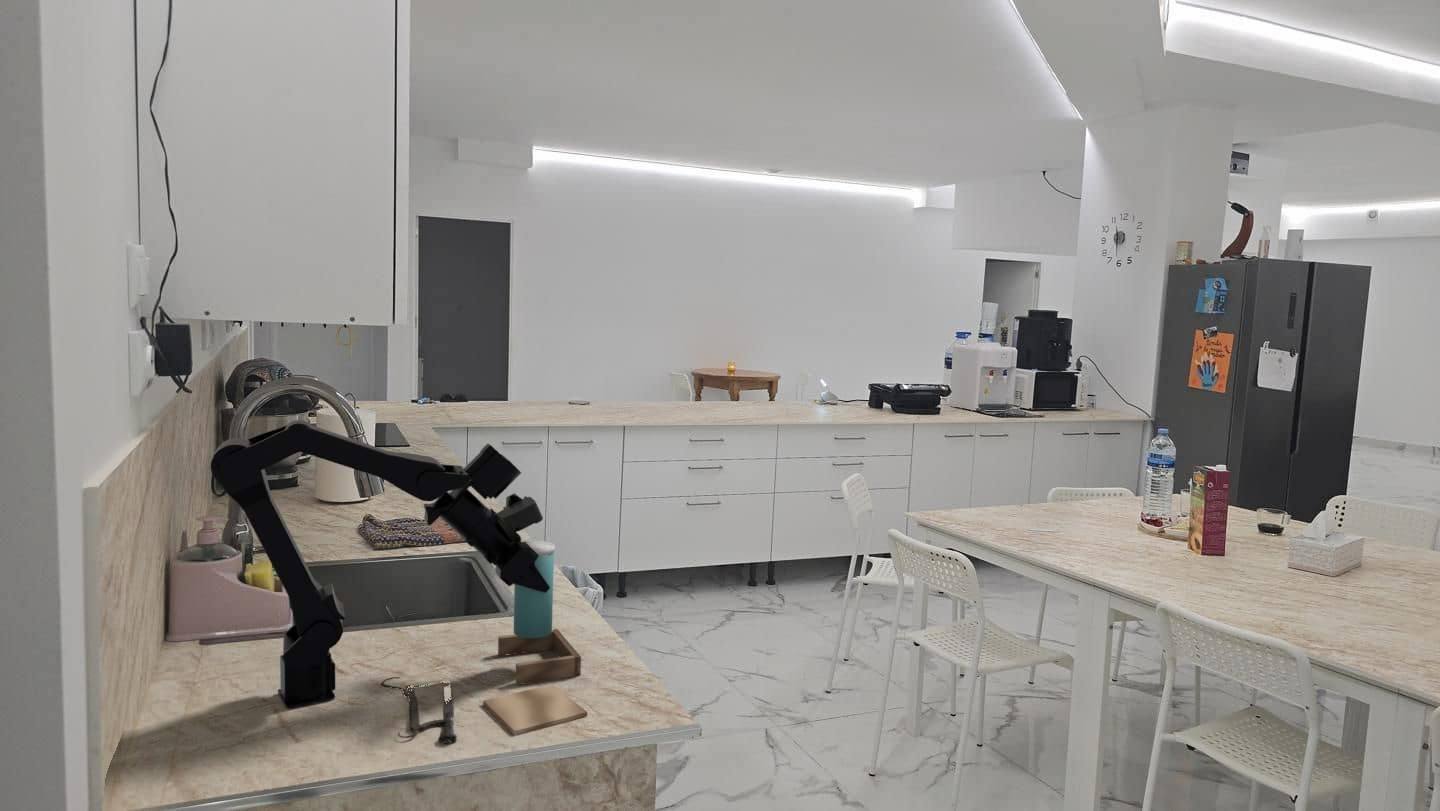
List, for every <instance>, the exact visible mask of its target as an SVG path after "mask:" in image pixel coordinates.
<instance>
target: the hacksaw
mask: <svg viewBox="0 0 1440 811" xmlns="http://www.w3.org/2000/svg"><path fill="white" fill-rule="evenodd" d="M393 678H395V679H399V678H401V677H400V676H395V677H390V678H389V677H388V678H385V679H384V680H382V681H381V683H380V684H381V687H383V686H384V687H383V688H387V687H392V688H391V689H394V688H399V689H403V691H404V693H403V695H405V696H406V695H407V697H408V696H409V699H410V701H409V699H408V701H409V702H408V704H409V705H410V706H409V707H408V709H409V708H410V709H409V710H408V712H409V711H410V712H409V716H408V717H409V726H408V727H409V730H410V731H412V732H413V733H412V734H410V735H407V736H406V735H405V736H404V735H400V733H401V732H402V731H403V730H404V729H405V728H404V727H403V728H402V729H401V730H399V731H398V733H397V736H398V737H400V738H403V739H405V738H406V739H408V738H410V739H411V738H414V737H416V736H417V735H418V734H419V733H420V731H425V730H426V729H428V728H430V727H434V726H444V727H443V733H441V734H440V736H439V737H438V739H437V740H438V741H439V743H440V744H441V745H449V744H448V743H451V744H454V743H455V744H456V742H457V734H455V730H454V719H453V718H455V713H454V701H453V699H451V700H449V699H448V700H449V702H448V701H446V702H447V704H446V702H445V703H444V701H445V700H444V699H443V706H444V719H433V720H429V721H426V722H424V723H420V716H419V706H418V705H419V704H418V701H417V700H418V699H416V698H417V696H416V693H414V692H415V689H414V688H411V687H410V685H407V684H406V685H407V686H406V687H407V688H408V686H409V687H410V688H408V691H407V690H406V687H405V688H403V687H399V686H393V685H388V684H385V682H387V681H390V680H394V679H393ZM389 679H390V680H389ZM386 680H387V681H386ZM438 683H439V682H438ZM442 683H443V682H442ZM426 684H427V685H428V683H426ZM416 685H417V686H414V687H419V685H420V686H421V685H422V684H416ZM425 686H426V685H425ZM399 689H398V690H399ZM411 689H412V691H411ZM413 689H414V690H413ZM409 690H410V691H409ZM403 691H402V692H403ZM405 691H406V692H405ZM407 692H408V693H409V694H408V693H407ZM450 698H451V697H450Z"/></svg>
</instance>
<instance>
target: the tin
mask: <svg viewBox="0 0 1440 811" xmlns="http://www.w3.org/2000/svg"><path fill="white" fill-rule="evenodd" d="M522 542H526V543H527V544H528V545H529V546H530V547H531V548H532V549H533V550H534V551H535V552H536V553H537V554H538V555H539V556H538V558H537V560H536V561H535V566H536V568H537V569H538V571H539V572H540V574H541V575H542V577H543V578H544V579H545V581H546V582H547V584H548V585H549V587H550V589H549V590H548V591H547V592H546V593H544V592H541V591H537V590H534V589H530V588H527V587H523V586H520V585H516V584H514V587H513V588H514V590H513V591H514V594H513V596H514V598H513V599H514V603H513V635H514V634H515V635H517V636H519V637H523V638H540V637H544V636H547V635H549V634H551V632H552V630H553V612H554V611H553V607H554V606H553V602H554V599H553V598H554V566H555V565H554V564H555V562H554V561H555V550H556V548H555V547H556V545H555V544H554V542H550V541H547V540H538V539H537V540H534V539H533V540H523V541H522Z"/></svg>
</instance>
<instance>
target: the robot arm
mask: <svg viewBox="0 0 1440 811" xmlns="http://www.w3.org/2000/svg"><path fill="white" fill-rule="evenodd" d="M298 453H304V454H307V455H310V456H312V457H315V458H319V459H323V460H325V461H328V462H331V463H335V464H337V465H341V466H344V467H346V468H349V469H352V470H356V471H359V472H362V473H365V474H369V475H372V476H375V477H377V478H380V479H382V480H384V481H386V482H388V483H390V484H391V485H393V486H394V487H396V488H397V489H399V490H401V491H403V492H404V493H406V494H409V495H410V496H412V497H415V498H416V499H417V500H420V501H423V502H432V503H424V504H423V507H424V515H423V516H424V517H423V518H424V521H425V522H426V524H427V525H428V526H431V525H433V524H434V523H435V522H436V521H437V520H438V519H439V518H440V519H442V520H443V521H444V523H446V524H447V525H448V526H450V528H451V529H453V530H454V531H455V532H456V533H457V534H458V535H459V536H460V537H461V538H463V540H464V541H465V542H466V543H467V545H469V546H470V547H471V548H472V547H473V548H474V549H475V550H476V551H477V552H478V553H479V554H480V555H482V556H483V558H484V559H485V560H486V561H487V563H489V564H490V565H493V566H495V569H494V570H495V574H496V575H497V577H498V578H499V579H500V580H501V581H502V582H503V583H504V584H505V585H507V586H508V587H511V586H512V585H515V584H516V585H520V586H523V587H527V588H530V589H534V590H537V591H541V592H544V593H546V592H547V591H548V590H549V589H550V587H549V585H548V584H547V582H546V581H545V579H544V578H543V577H542V575H541V574H540V572H539V571H538V569H537V568H536V566H535V561H536V560H537V558H538V556H539V555H538V554H537V553H536V552H535V551H534V550H533V549H532V548H531V547H530V546H529V545H528V544H527V543H526V542H523V541H522V537H521V535H520V534H519V533H518V532H520V531H522V530H524V529H527V528H528V527H530V526H532V525H534V524H539V523H540V522H541V521H543V519H544V517H543V515H542V512H541V510H540V508H539V506H538V504H537V502H536V500H535V499H533V497H531V496H527V495H526V496H524V497H523V498H522V497H520V496H519V495H517V494H516V493H512V494H510V495H508V496H506V500H505V501H506V502H505V506H504V507H502V510H500V511H498V512H496V511H495V510H494V509H493V508H489V507H487V506H486V505H485V504H484V503H483V502H482V501H481V500H480V499H479V498H478V497H476V496H475V495H474V494H473V493H472V492H471V491H470V490H469V488H470V487H471V488H472V489H473V490H474V491H475V492H476V493H478V494H479V496H481V497H482V499H484V500H487V498H489V499H490V500H492V499H494V500H496V499H497V498H498V497H499V496H500V495H501V494H502V493H503V492H504V491H505V490H506V489H508V487H509V486H510V485H511V484H512V483H513V482H514V481H516V479H517V478H518V477H519V476H520V475H521V474H522V472H521V471H520V470H519V469H518V468H517V466H516V465H515V464H513V462H512V461H510V460H509V459H508V458H507V457H506V456H504V455H503V454H501V453H500V452H499V451H498V450H497V449H496V448H494V447H493V445H492V444H490V443H486V444H485V445H484V446H483V447H482V449H481V450H480V451H479V452H478V454H477V455H476V456H475V457H474V458H473V459H472V460H471V461H469V463H468V464H466V465H465V467H463V466H461V465H456V464H455V465H454V464H445V463H440V462H439V460H438V459H436V458H434V457H432V456H428V455H421V454H415V453H411V452H410V453H409V452H398V451H390V450H385V449H383V448H380V447H377V446H375V445H371V444H368V443H366V442H362V441H359V440H357V439H355V438H350V437H347V436H345V435H342V434H340V433H339V434H338V433H336V432H333V431H330V430H327V429H324V428H321V427H318V426H315V425H312V424H311V423H310V422H308V421H305V420H301V419H296V420H292V421H290V422H289V423H288V424H285V425H283V426H280V427H277V428H275V429H272V430H271V429H270V430H268V431H264V432H262V433H259V434H257V435H255V436H252V437H249V438H247V439H246V438H243V437H232V438H228V439H226V440H225V441H223V442H222V443H220V444H219V445H218V447H217V448H216V450H215V452H214V455H213V457H212V459H211V462H210V471H211V474H212V476H213V478H214V479H215V480H216V481H217V483H218V484H219V485H220V486H221V488H222V489H223V490H224V492H225V493H226V494H227V495H228V496H229V497H230V498H231V499H232V501H233V502H235V503H236V504H237V506H239V507H240V508H241V509H242V511H243V512H244V514H245V516H246V518H247V519H248V522H249V523H250V526H251V527H252V530H253V531H254V533H255V535H256V537H257V539H258V541H259V542H260V544H261V546H262V548H263V550H264V553H265V554H266V556H267V558H268V560H269V562H270V564H271V566H272V567H273V569H274V572H275V573H276V575H277V576H278V579H279V581H280V582H281V585H282V587H283V589H284V591H285V592H286V594H287V596H288V601H289V603H290V608H291V613H292V617H293V620H294V624H293V625H292V626H291V627H289V629H288V630H287V631H285V633H284V634H283V639H282V640H283V646H282V654H281V655H280V656H279V659H280V660H279V661H280V662H279V663H280V668H279V670H280V671H279V672H280V673H279V674H280V688H279V689H278V690H277V694H278V696H279V698H280V700H281V701H282V703H283V705H284V707H285V708H286V709H293V708H298V707H303V706H308V705H313V704H317V703H321V702H326V701H330V700H335V698H336V694H335V693H334V691H335V690H336V663H335V661H334V660H333V658H332V653H331V652H330V649H331V648H333V647H335V646H336V645H337V644H338V643H339V641H340V640H341V638H342V636H343V634H344V626H343V621H344V620H345V619H346V616H345V611H344V603H343V602H341V600H339V599H338V597H337V596H336V593H335V590H334V586H333V583H332V582H329V583H327V584H326V585H324V586H322V585H321V584H320V583H319V582H318V581H317V580H316V579H315V578H314V577H313V574H312V573H311V570H310V569H309V567H308V565H307V563H306V561H305V559H304V557H303V555H302V552H301V551H300V549H299V547H298V545H297V543H296V541H295V539H294V537H293V536H292V533H291V531H290V529H289V528H288V526H287V524H286V522H285V519H284V518H283V516H282V515H281V512H280V509H279V507H278V506H277V503H276V502H275V500H274V498H273V496H272V494H271V490H270V487H269V486H270V485H269V482H268V477H267V473H266V470H265V469H267V468H269V467H272V466H274V465H276V464H278V463H279V462H282V461H283V460H285V459H287V458H289V457H291V456H293V455H295V454H298Z"/></svg>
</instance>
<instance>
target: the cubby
mask: <svg viewBox="0 0 1440 811" xmlns="http://www.w3.org/2000/svg"><path fill="white" fill-rule="evenodd" d="M497 640H498V641H497V655H498V654H499V655H498V656H499V657H501V656H500V655H505V656H507V655H506V654H512V655H515V654H514V653H519V654H523V653H522V652H527V653H533V652H532V651H534V652H540V651H547V650H548V651H549V650H553V649H554V650H555V651H554V650H553V651H554V653H556V654H557V656H558V657H552V658H545V659H544V658H543V659H539V660H530V661H524V662H517V663H515V683H517V684H519V685H523V684H522V683H526V684H532V682H533V683H538V681H539V682H545V680H546V681H552V680H559V679H565V678H569V677H570V678H571V677H577V676H581V675H582V674H581V672H582V667H581V666H582V656H581V655H580V654H579V652H577V650H576V649H575V648H574V647H573V646H572V645H571V643H570V642H569V641H568V640H567V639H566V637H565V636H564V634H562V632H561V631H560V630H559V629H558V628H555V629H552V632H551V634H549V635H547V636H544V637H540V638H523V637H519V636H517V635H515V634H514V633H513V634H508V635H499V636H498V637H497ZM517 684H516V685H517Z"/></svg>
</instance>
